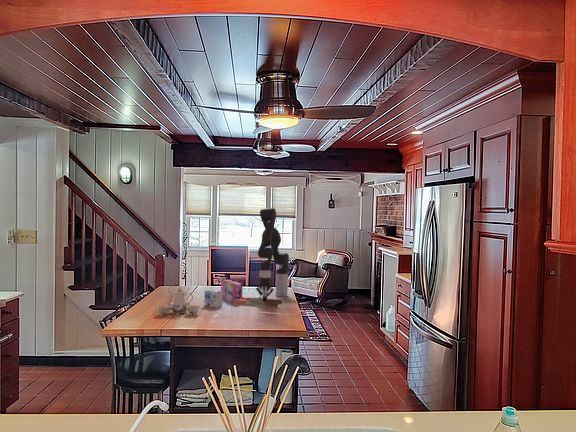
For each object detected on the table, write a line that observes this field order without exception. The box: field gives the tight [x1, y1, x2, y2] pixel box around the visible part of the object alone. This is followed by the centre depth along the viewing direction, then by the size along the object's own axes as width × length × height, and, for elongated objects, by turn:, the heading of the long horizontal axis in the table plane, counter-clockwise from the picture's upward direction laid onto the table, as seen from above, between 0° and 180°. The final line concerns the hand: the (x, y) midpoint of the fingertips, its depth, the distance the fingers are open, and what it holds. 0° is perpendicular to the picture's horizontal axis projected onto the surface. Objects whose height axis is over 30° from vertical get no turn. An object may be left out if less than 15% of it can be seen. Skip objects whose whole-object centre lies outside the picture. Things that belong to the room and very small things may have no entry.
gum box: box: [220, 278, 243, 303], centre depth 336 cm, size 24×8×14 cm, turn 31°
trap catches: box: [234, 296, 250, 306], centre depth 319 cm, size 11×8×3 cm
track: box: [233, 297, 283, 309], centre depth 316 cm, size 14×31×4 cm, turn 75°
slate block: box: [249, 295, 262, 301], centre depth 316 cm, size 6×6×5 cm
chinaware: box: [155, 287, 203, 316], centre depth 287 cm, size 28×17×17 cm, turn 104°
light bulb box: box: [204, 288, 223, 308], centre depth 313 cm, size 11×7×11 cm, turn 62°
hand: (264, 301), depth 315 cm, fingers closed
